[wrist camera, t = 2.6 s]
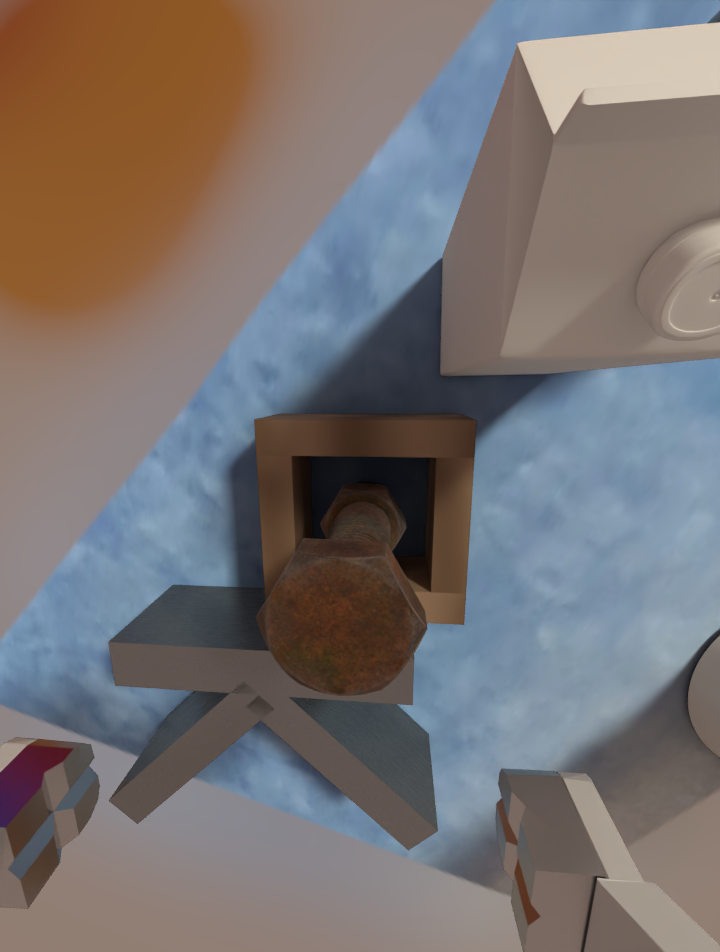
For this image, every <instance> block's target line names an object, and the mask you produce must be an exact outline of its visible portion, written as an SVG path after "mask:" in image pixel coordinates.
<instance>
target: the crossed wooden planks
mask: <svg viewBox="0 0 720 952" xmlns="http://www.w3.org/2000/svg"><path fill="white" fill-rule="evenodd" d="M264 602H265V589H261V588H237V587H213V586H190V585H172V586H171V587H170V588H169V589H168V590H167V591H166V592H164V593H163V594H162V595H161V596H160V597H159V598H158V599H157V600H155V601H154V602H153V603H152V604H151V605H150V606H149V607H148V608H146V609H145V610H144V611H143V612H142V613H141V614H140V615H138V616H137V617H136V618H135V619H134V620H133V621H132V622H131V623H129V624H128V625H127V626H126V627H125V628H124V629H123V630H122V631H120V632H119V633H118V634H117V635H116V636H115V637H114V638H112V639H111V640H110V641H109V642H108V643H109V649H110V655H111V661H112V668H113V674H114V680H115V686H129V687H145V688H160V689H175V690H190V691H194V692H193V693H192V694H191V695H190V696H189V697H188V698H186V699H185V700H184V701H183V702H182V703H181V704H180V705H179V706H178V707H177V708H176V709H174V710H173V711H172V712H171V713H170V714H169V715H168V716H167V718H166V719H165V720H164V722H163V723H162V725H161V726H160V728H159V729H158V731H157V732H156V733H155V735H154V736H153V738H152V739H151V741H150V742H149V744H148V745H147V746H146V748H145V749H144V751H143V752H142V754H141V755H140V756H139V758H138V759H137V761H136V762H135V764H134V765H133V767H132V768H131V770H130V771H129V772H128V774H127V776H126V777H125V778H124V780H123V781H122V782H121V784H120V785H119V787H118V788H117V790H116V791H115V793H114V794H113V795H112V797H111V798H110V800H109V801H110V802H111V803H112V804H114V805H115V806H116V807H117V808H119V809H120V810H121V811H122V812H123V813H125V814H126V815H127V816H128V817H130V818H131V819H132V820H133V821H135V822H136V823H137V824H138V823H139V822H140V821H142V820H143V819H144V818H145V817H146V816H147V815H148V814H150V813H151V812H152V811H153V810H154V809H156V808H157V807H158V806H159V805H160V804H162V803H163V802H164V801H165V800H166V799H168V798H169V797H170V796H171V795H172V794H174V793H175V792H176V791H177V790H178V789H180V788H181V787H182V786H183V785H184V784H185V783H187V782H188V781H189V780H190V779H191V778H193V777H194V776H195V775H196V774H197V773H199V772H200V771H201V770H202V769H203V768H205V767H206V766H207V765H208V764H209V763H210V762H212V761H213V760H214V759H215V758H216V757H218V756H219V755H220V754H221V753H222V752H224V751H225V750H226V749H227V748H228V747H230V746H231V745H232V744H233V743H234V742H235V741H237V740H238V739H239V738H240V737H241V736H243V735H244V734H245V733H246V732H247V731H249V730H250V729H251V728H252V727H253V726H254V725H256V724H257V723H258V722H259V721H260V720H261V721H262V722H263V723H265V724H266V725H267V726H268V727H269V728H270V729H271V730H272V731H274V732H275V733H276V734H277V735H278V736H279V737H280V738H282V739H283V740H284V741H285V742H286V743H287V744H288V745H289V746H291V747H292V748H293V749H294V750H295V751H296V752H297V753H299V754H300V755H301V756H302V757H303V758H304V759H305V760H306V761H308V762H309V763H310V764H311V765H312V766H313V767H314V768H316V769H317V770H318V771H319V772H320V773H321V774H322V775H323V776H325V777H326V778H327V779H328V780H329V781H330V782H331V783H333V784H334V785H335V786H336V787H337V788H338V789H339V790H340V791H342V792H343V793H344V794H345V795H346V796H347V797H348V798H350V799H351V800H352V801H353V802H354V803H355V804H356V805H357V806H359V807H360V808H361V809H362V810H363V811H364V812H365V813H367V814H368V815H369V816H370V817H371V818H372V819H373V820H374V821H376V822H377V823H378V824H379V825H380V826H381V827H382V828H384V829H385V830H386V831H387V832H388V833H389V834H390V835H391V836H393V837H394V838H395V839H396V840H397V841H398V842H399V843H401V844H402V845H403V846H404V847H405V848H406V849H407V850H410V849H411V848H413V847H414V846H416V845H417V844H419V843H420V842H422V841H423V840H425V839H427V838H428V837H430V836H431V835H433V834H434V833H436V832H437V831H438V827H437V817H436V806H435V796H434V786H433V775H432V765H431V754H430V744H429V734H428V733H427V732H426V731H425V730H424V729H422V728H421V727H420V726H419V725H418V724H417V723H416V722H415V721H414V720H413V719H412V718H411V717H410V716H408V715H407V714H406V713H405V712H404V711H403V710H402V709H401V708H400V707H399V706H398V705H397V704H403V705H413V676H414V654H413V656H412V657H411V659H410V661H409V662H408V663H407V665H406V666H405V667H404V669H403V670H402V671H401V672H400V673H399V675H398V676H397V677H396V678H395V679H394V680H393V681H392V682H391V683H390V684H389V685H388V686H386V687H385V688H384V689H382V690H381V691H377V692H372V693H368V694H363V695H354V696H337V695H329V694H324V693H321V692H317V691H314V690H312V689H309V688H307V687H305V686H302V685H300V684H298V683H297V682H296V681H294V680H293V679H292V678H291V677H289V676H288V675H287V674H286V673H285V672H284V671H283V670H282V668H281V667H280V666H279V665H278V663H277V662H276V660H275V659H274V657H273V656H272V654H271V652H270V651H269V649H268V647H267V645H266V643H265V640H264V638H263V636H262V634H261V631H260V628H259V625H258V622H257V620H256V616H257V614H258V612H259V610H260V609H261V607H262V605H263V604H264Z"/></svg>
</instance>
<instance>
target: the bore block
mask: <svg viewBox="0 0 720 952" xmlns="http://www.w3.org/2000/svg"><path fill="white" fill-rule="evenodd" d="M476 422H477V420H474V419H472V418H469V417H467V416H464V415H462V414H277V415H272V416H268V417H263V418H259V419H254V423H255V440H256V456H257V473H258V489H259V506H260V522H261V538H262V555H263V571H264V588H265V600H266V599H267V597H268V596H269V594H270V592H271V591H272V589H273V587H274V586H275V584H276V582H277V581H278V579H279V577H280V576H281V574H282V573H283V571H284V569H285V568H286V566H287V564H288V563H289V561H290V559H291V558H292V556H293V554H294V553H295V551H296V550H297V548H298V546H299V545H300V543H301V541H302V540H303V538H311V539H313V520H312V487H311V456H350V457H428V483H427V511H426V539H425V557H416V556H395V558H396V560H397V562H398V563H399V565H400V567H401V569H402V571H403V572H404V574H405V576H406V578H407V579H408V581H409V583H410V585H411V587H412V588H413V590H414V592H415V594H416V595H417V597H418V599H419V601H420V602H421V604H422V606H423V608H424V610H425V614H426V622H427V623H440V624H461V625H464V617H465V601H466V585H467V568H468V552H469V536H470V519H471V503H472V487H473V471H474V454H475V438H476Z"/></svg>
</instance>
